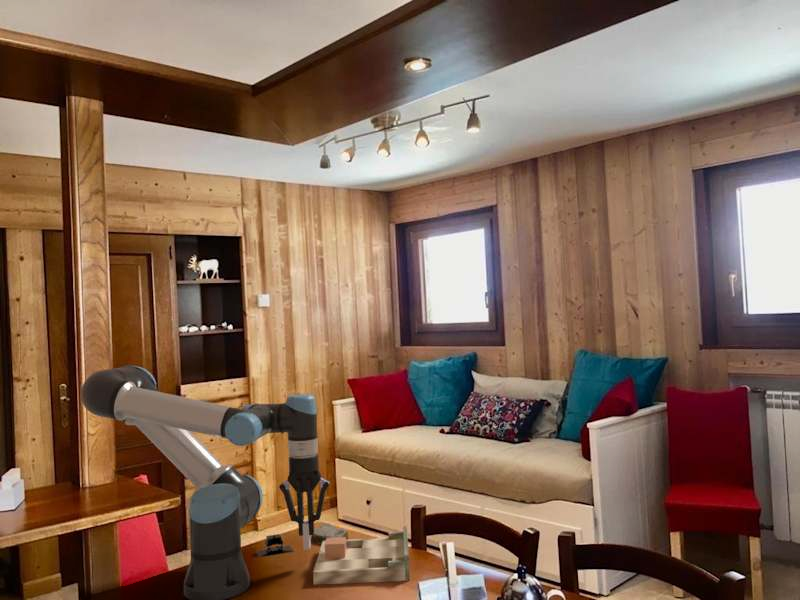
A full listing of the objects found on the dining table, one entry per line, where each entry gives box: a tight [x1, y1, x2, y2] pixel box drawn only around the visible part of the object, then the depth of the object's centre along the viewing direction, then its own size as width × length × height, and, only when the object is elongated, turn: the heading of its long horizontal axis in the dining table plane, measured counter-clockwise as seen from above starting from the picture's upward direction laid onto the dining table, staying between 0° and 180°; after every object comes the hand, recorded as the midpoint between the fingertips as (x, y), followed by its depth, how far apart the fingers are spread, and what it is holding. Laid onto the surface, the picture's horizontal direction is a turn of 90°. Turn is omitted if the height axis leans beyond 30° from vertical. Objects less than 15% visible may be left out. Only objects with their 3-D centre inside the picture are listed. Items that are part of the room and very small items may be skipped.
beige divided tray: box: [312, 525, 411, 586], centre depth 168 cm, size 23×22×6 cm
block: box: [325, 537, 346, 559], centre depth 168 cm, size 5×5×4 cm
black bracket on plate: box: [255, 533, 294, 558], centre depth 181 cm, size 12×7×5 cm, turn 112°
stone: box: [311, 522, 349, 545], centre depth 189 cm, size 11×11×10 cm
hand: (307, 547), depth 168 cm, fingers closed
